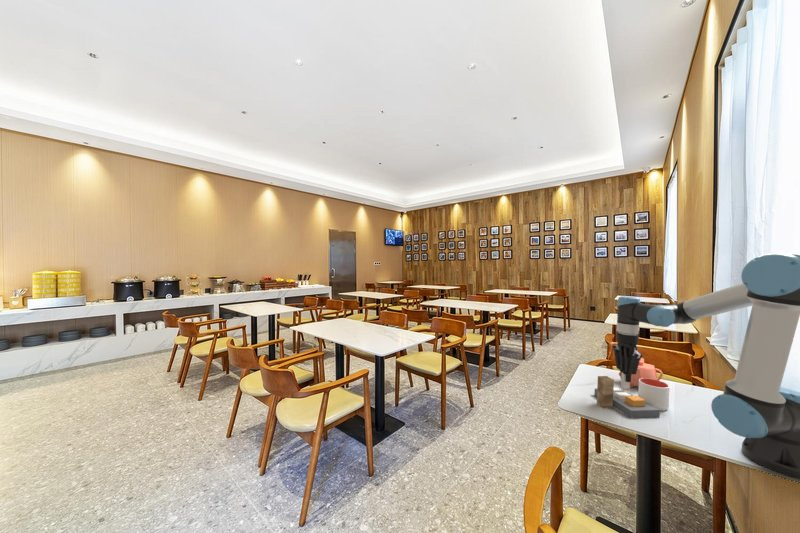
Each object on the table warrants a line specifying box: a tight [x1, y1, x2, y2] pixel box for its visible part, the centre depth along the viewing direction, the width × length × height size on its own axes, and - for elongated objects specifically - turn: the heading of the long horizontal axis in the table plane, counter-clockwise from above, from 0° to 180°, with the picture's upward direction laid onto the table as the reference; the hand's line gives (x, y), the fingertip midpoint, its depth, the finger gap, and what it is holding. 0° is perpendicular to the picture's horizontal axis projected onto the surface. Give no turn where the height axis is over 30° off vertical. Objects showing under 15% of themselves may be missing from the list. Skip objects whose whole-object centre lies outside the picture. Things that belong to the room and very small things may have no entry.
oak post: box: [596, 375, 615, 409], centre depth 128 cm, size 4×4×12 cm
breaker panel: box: [594, 386, 661, 419], centre depth 129 cm, size 20×12×4 cm, turn 5°
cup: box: [637, 378, 670, 412], centre depth 129 cm, size 10×10×10 cm
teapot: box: [618, 357, 664, 388], centre depth 149 cm, size 15×17×13 cm
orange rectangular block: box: [625, 395, 645, 407], centre depth 124 cm, size 4×5×3 cm
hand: (625, 388), depth 129 cm, fingers closed
